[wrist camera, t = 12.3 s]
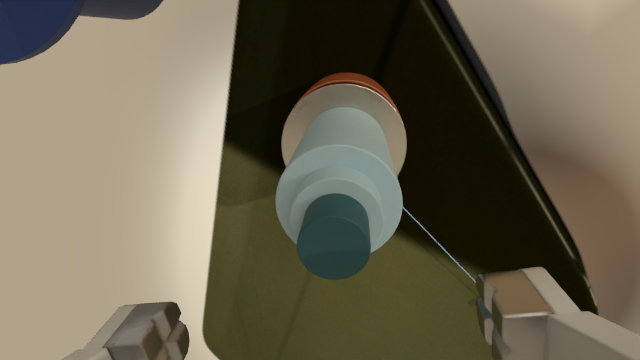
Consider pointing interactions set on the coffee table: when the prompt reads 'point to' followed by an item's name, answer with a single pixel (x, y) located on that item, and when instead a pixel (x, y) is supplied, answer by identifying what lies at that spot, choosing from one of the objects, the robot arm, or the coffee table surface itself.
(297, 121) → the tin
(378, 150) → the bottle
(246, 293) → the coffee table surface
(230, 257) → the coffee table surface
